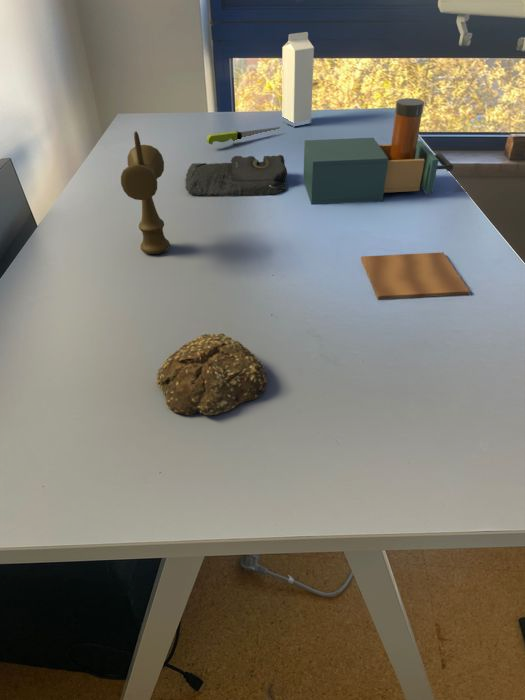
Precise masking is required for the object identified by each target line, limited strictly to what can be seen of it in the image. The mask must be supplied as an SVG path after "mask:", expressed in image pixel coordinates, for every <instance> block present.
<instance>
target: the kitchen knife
mask: <svg viewBox="0 0 525 700" xmlns="http://www.w3.org/2000/svg"><path fill="white" fill-rule="evenodd" d="M280 128H281V126H276V127H270V128H262V129H261V128H260V129H252V130H245V131H238V130H237V131H227V132H221V133H220V132H219V133H212V134H208V135H207V136H206V143H207V144H209V145H213V144H214V143H215V142H218V143H225V142H228V141H230V140H231V141H232V140H233V141H235V140H237V139H241V138H242V137H246V136H251V135H254V134H258V133H262V132H267V131H271V130H276V129H279V130H280Z"/></svg>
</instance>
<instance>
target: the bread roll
mask: <svg viewBox="0 0 525 700" xmlns="http://www.w3.org/2000/svg"><path fill="white" fill-rule="evenodd" d="M264 369H265V366H264V364H263V363H261V360H259V359H258V358H257V357H256V355H255V354H254V353H252V352H251V350H250V349H249V348H247V347H246V346H244V345H243V344H242V342H240V341H238V340H236V339H232V337H231V336H227V335H225V334H224V333H218V334H215V333H212V334H211V333H205V334H202V335H199V336H198V337H196V338H194V339H192V340H191V341H189V342H186V343H184V345H182V346H181V347H180V348H179V349H178V350H176V351H175V352H174V353H172V354H169V357H168V358H167V359H166V360H165V361H164V362H163V363H162V365H161V366H160V368H159V369H158V372H157V373H156V381H155V383H156V385H157V387H158V388H159V389H160V390H161V392H162V393H163V396H164V397H165V403H166V405H167V407H168V409H169V410H170V411H171V412H172V413H176V414H181V415H186V416H191V415H194V414H197V413H199V414H202V415H204V416H214V415H215V416H217V415H219V414H221V413H226V412H230V411H231V410H233V409H235V408H236V407H238V406H239V405H241V404H243V403H246V402H247V401H254V400H256V399H258V398H259V396H260V394H261V393H263V392H264V391H265V389H266V385H267V372H266V371H265V370H264Z"/></svg>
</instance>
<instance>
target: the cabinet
mask: <svg viewBox="0 0 525 700" xmlns="http://www.w3.org/2000/svg"><path fill="white" fill-rule="evenodd" d="M379 145H380V144H379V143H378V142H377V141H376V139H375V138H374V137H353V138H328V139H304V148H303V149H304V150H303V151H304V152H303V177H302V181H303V180H304V181H303V183H304V186H305V190H306V193H307V196H308V199H309V202H310V204H311V205H324V204H327V205H328V204H347V203H348V204H349V203H369V202H371V203H372V202H383V200H384V194H385V193H384V187H385V179H386V172H387V165H388V157H387V156H386V154H385V153H384V152H383V150H382V149H381V148H380V146H379Z"/></svg>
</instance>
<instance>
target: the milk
mask: <svg viewBox="0 0 525 700" xmlns="http://www.w3.org/2000/svg"><path fill="white" fill-rule="evenodd" d="M281 50H282V53H281V54H282V58H281V59H282V61H281V62H282V65H281V66H282V67H281V70H282V71H281V73H282V74H281V79H282V80H281V82H282V83H281V84H282V85H281V86H282V87H281V89H282V90H281V92H282V93H281V94H282V95H281V100H282V101H281V116H282V117H284V118H286V119H288V120H289V121H291V122H293V123H296V122H301V121H305V120H311V121H312V110H313V86H314V85H313V84H314V83H313V82H314V81H313V80H314V55H315V46H314V45H313V44H312V42H311V41H310V40H309V32H308V31H304V32H303V31H302V32H296V33H295V32H294V33H289V34H288V40H287V42H286V43H284V45H283V46H282V48H281ZM282 117H281V118H282Z"/></svg>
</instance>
